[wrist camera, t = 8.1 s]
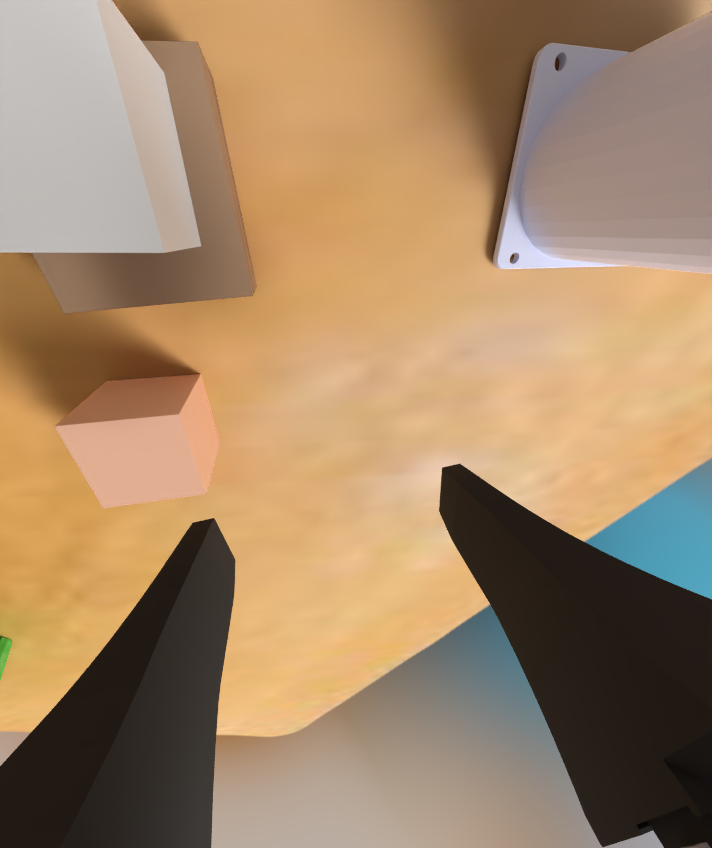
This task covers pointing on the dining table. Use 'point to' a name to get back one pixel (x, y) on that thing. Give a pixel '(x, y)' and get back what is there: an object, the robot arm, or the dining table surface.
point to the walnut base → (212, 203)
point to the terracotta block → (144, 439)
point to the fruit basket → (4, 652)
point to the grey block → (86, 136)
